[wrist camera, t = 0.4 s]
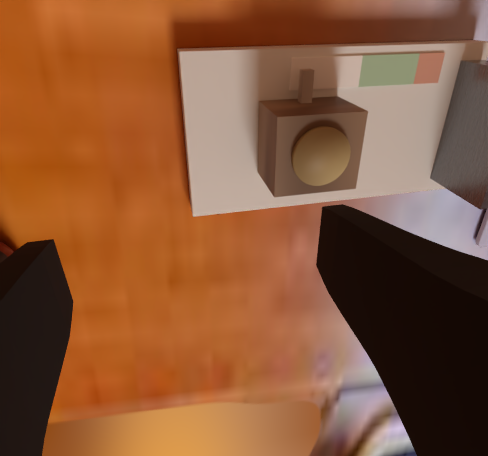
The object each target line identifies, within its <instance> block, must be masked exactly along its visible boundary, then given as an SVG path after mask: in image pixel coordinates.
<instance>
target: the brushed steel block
mask: <svg viewBox="0 0 488 456" xmlns="http://www.w3.org/2000/svg"><path fill="white" fill-rule="evenodd" d="M430 179H432V180H433V181H435V182H437V183H438V184H440V185H442V186H443V187H445V188H446V189H448V190H450V191H451V192H453V193H454V194H456V195H458V196H459V197H461V198H463V199H464V200H466V201H467V202H469V203H471V204H472V205H474V206H475V207H477V208H479V209H487V208H488V61H486V60H461V62H460V66H459V70H458V74H457V77H456V81H455V85H454V89H453V93H452V96H451V100H450V104H449V108H448V112H447V115H446V119H445V123H444V127H443V130H442V134H441V138H440V142H439V146H438V149H437V153H436V157H435V161H434V164H433V168H432V172H431V176H430Z"/></svg>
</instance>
